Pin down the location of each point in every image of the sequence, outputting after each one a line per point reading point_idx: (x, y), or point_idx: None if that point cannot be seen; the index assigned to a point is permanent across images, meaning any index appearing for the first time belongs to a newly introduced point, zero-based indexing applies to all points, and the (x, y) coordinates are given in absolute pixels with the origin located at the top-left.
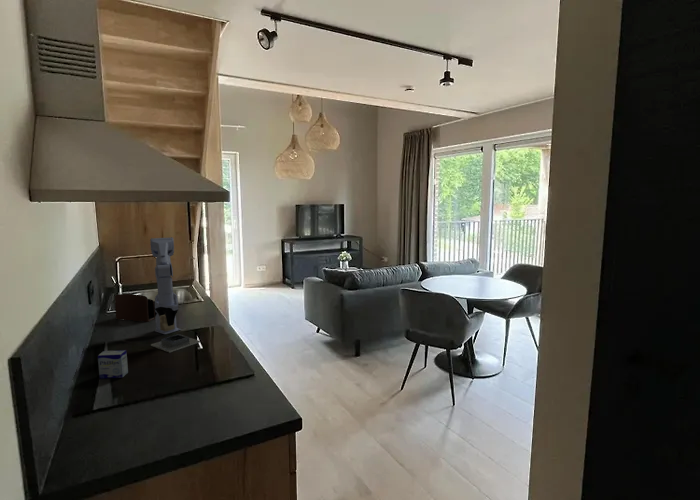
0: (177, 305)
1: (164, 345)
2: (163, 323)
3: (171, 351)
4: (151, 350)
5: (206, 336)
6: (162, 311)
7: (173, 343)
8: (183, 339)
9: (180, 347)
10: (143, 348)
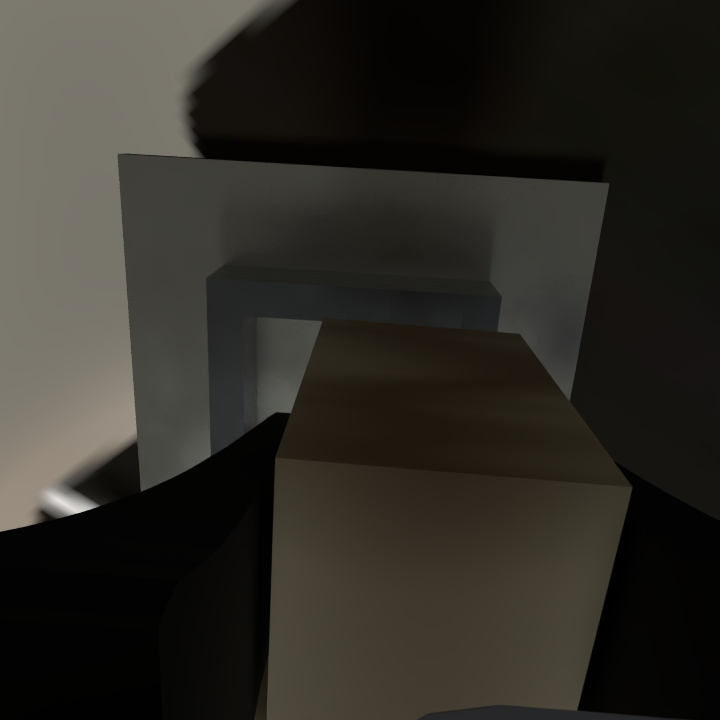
0: None
1: (382, 256)
2: (385, 378)
3: (127, 185)
4: (424, 68)
5: (264, 688)
6: (679, 709)
7: (210, 298)
8: (212, 448)
9: (130, 318)
10: (610, 54)
